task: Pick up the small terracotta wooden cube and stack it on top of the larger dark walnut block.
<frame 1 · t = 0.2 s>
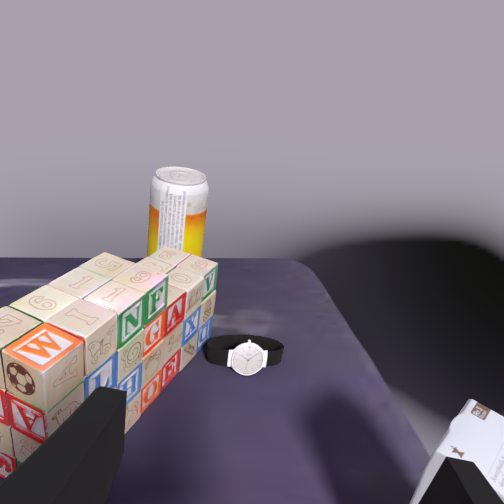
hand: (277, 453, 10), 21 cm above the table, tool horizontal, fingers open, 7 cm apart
watch: (242, 362, 44), on the table
beer can: (171, 295, 53), on the table
stack of blocks: (121, 392, 38), on the table
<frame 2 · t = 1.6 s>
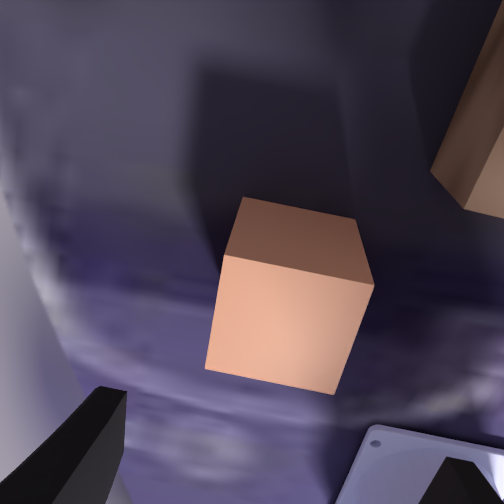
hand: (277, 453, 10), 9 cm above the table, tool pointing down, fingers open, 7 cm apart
terracotta cube: (286, 256, 18), on the table
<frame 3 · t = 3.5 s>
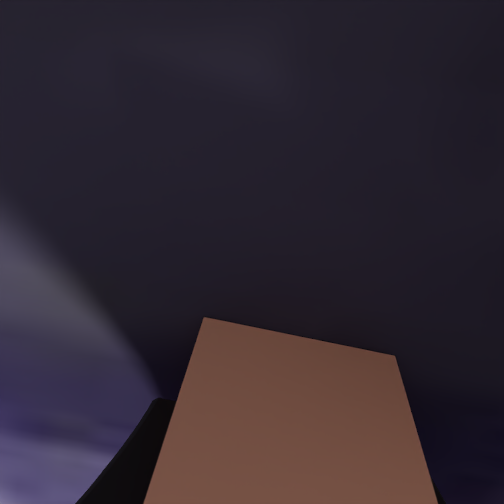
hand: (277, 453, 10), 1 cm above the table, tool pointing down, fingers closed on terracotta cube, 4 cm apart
terracotta cube: (279, 404, 11), on the table, touching gripper
when the fingers open (6 cm above the table, at t = 7.1 s): terracotta cube drops 1 cm, resting on walnut block.
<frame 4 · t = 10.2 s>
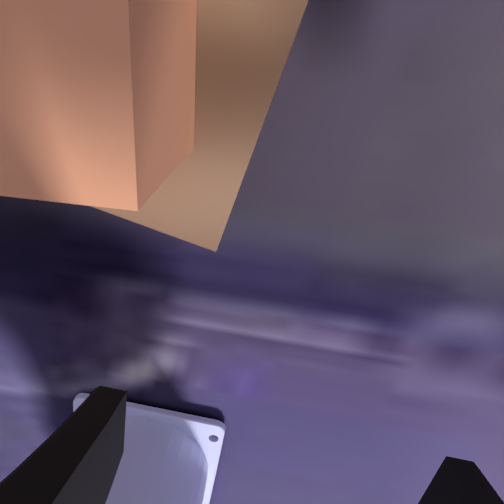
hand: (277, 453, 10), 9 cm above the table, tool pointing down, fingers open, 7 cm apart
walnut block: (153, 51, 15), on the table, touching terracotta cube
terracotta cube: (113, 56, 12), point 4 cm above the table, touching walnut block
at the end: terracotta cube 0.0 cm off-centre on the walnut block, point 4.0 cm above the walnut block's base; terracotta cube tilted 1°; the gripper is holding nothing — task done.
